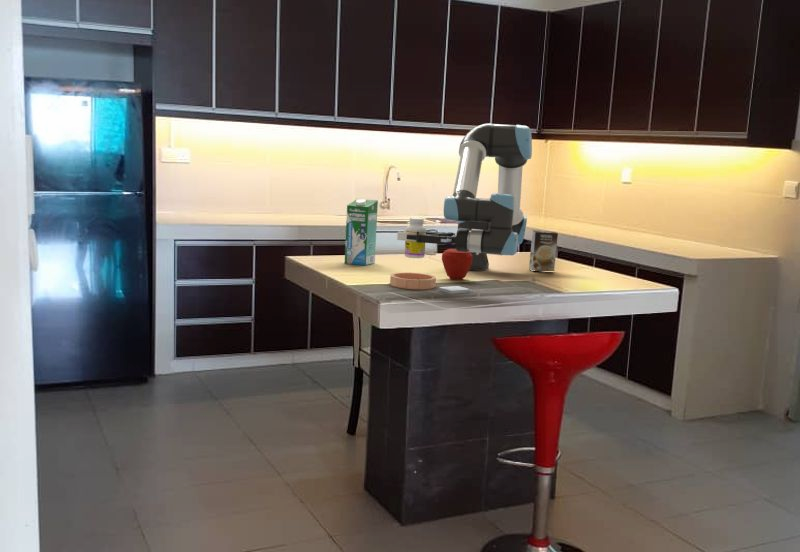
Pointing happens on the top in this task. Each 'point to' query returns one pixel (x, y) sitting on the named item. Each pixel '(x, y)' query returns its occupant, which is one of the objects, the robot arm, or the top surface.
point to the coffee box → (543, 251)
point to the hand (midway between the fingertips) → (400, 234)
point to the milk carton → (361, 232)
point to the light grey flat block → (454, 289)
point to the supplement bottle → (413, 247)
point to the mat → (451, 294)
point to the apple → (456, 263)
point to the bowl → (413, 280)
